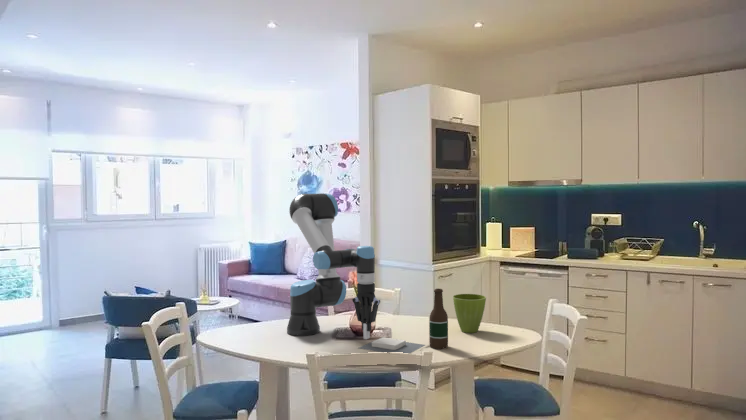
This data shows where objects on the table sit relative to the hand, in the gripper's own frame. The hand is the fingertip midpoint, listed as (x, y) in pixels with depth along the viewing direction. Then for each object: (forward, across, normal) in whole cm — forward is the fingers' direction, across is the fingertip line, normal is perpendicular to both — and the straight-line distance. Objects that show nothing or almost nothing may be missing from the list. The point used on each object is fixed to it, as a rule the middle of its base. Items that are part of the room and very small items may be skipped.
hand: (366, 338), depth 234 cm
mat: (+3, +12, 0) cm, 12 cm away
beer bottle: (+3, +28, +11) cm, 30 cm away
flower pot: (+3, +29, +42) cm, 51 cm away
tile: (+1, +5, 0) cm, 5 cm away
